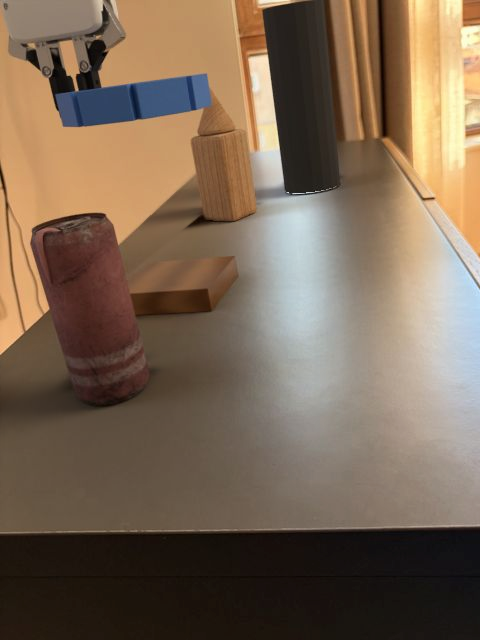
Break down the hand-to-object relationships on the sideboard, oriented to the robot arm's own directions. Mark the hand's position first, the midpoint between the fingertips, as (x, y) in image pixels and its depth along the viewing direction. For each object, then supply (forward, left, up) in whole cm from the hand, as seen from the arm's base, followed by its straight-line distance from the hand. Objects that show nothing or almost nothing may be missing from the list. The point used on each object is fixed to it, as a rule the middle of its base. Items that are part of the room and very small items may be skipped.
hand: (82, 115), depth 65 cm
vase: (+13, +54, -20) cm, 59 cm away
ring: (+6, 0, -1) cm, 6 cm away
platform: (+6, 0, -20) cm, 21 cm away
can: (+8, -22, -20) cm, 31 cm away
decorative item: (+2, +37, -20) cm, 43 cm away
